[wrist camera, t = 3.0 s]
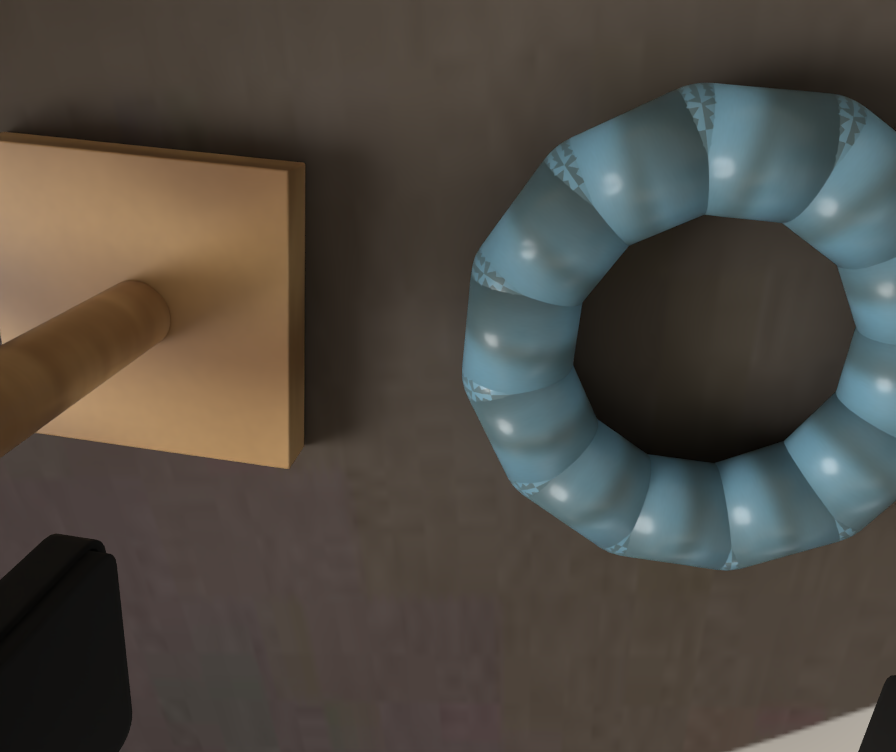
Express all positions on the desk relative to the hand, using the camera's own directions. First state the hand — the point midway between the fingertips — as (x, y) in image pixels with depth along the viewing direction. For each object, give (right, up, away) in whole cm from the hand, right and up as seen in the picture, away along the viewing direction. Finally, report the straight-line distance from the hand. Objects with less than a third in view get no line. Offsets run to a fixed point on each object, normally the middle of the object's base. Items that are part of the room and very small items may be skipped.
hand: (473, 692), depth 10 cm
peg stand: (-9, +6, +14) cm, 18 cm away
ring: (+7, +5, +11) cm, 14 cm away
